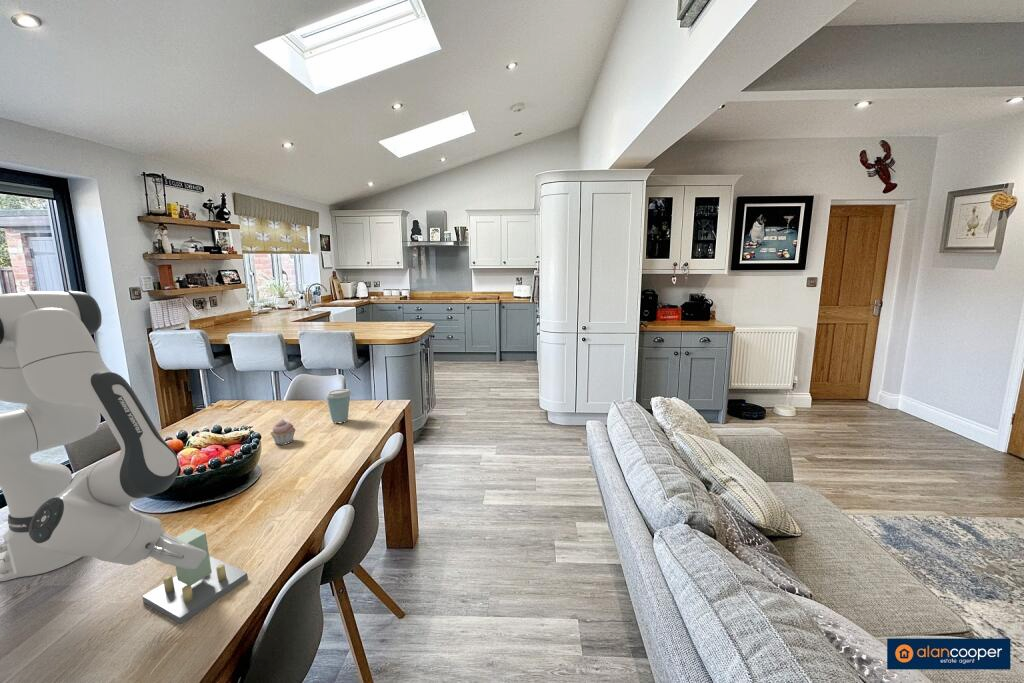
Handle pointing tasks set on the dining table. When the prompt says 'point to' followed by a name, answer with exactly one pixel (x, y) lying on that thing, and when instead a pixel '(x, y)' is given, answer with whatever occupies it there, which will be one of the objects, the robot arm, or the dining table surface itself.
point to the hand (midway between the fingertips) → (194, 553)
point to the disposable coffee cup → (338, 404)
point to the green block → (193, 576)
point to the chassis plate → (194, 591)
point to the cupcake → (283, 432)
